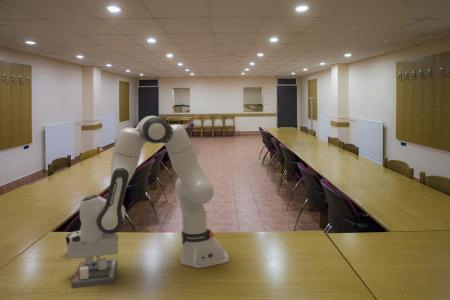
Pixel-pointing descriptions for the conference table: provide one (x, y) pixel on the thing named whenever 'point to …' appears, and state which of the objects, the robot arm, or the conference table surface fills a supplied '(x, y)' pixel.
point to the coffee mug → (68, 237)
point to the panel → (96, 275)
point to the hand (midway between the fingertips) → (94, 265)
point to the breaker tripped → (102, 263)
